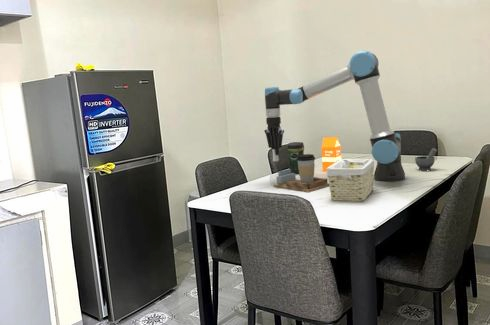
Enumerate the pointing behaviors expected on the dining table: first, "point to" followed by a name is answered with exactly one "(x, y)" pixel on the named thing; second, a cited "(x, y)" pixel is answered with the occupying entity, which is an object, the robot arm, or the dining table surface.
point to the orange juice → (330, 152)
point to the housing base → (304, 185)
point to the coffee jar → (295, 155)
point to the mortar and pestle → (426, 161)
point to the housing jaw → (285, 176)
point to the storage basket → (351, 179)
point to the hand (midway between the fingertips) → (275, 160)
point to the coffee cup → (306, 167)
